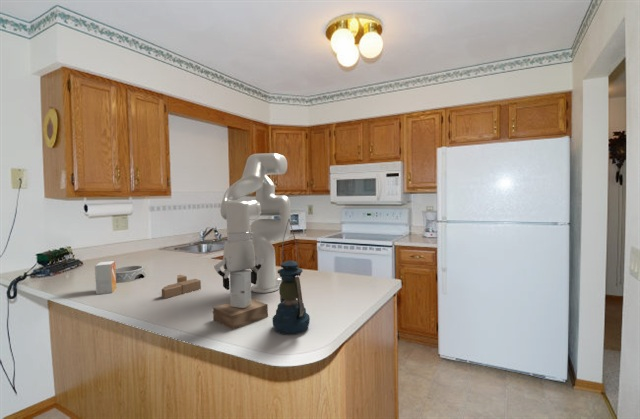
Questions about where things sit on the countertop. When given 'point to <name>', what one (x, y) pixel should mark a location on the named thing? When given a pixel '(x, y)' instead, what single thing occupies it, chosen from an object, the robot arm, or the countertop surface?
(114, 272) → the small box
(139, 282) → the countertop surface
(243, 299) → the skincare box
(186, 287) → the wooden block set
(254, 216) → the robot arm
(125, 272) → the dog bowl
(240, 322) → the brown cardboard box
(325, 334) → the countertop surface
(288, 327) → the lantern
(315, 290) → the countertop surface
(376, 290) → the countertop surface
